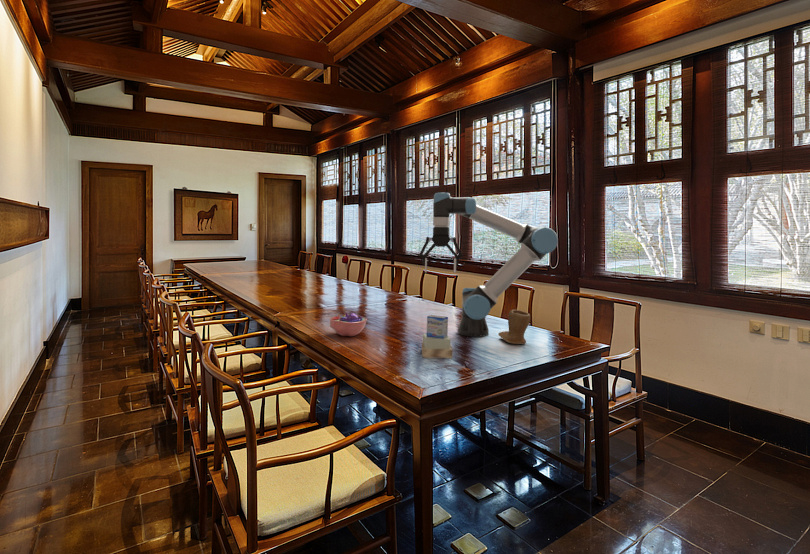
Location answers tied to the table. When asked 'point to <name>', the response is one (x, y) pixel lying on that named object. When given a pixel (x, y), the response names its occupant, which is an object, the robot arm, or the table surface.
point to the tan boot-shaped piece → (516, 327)
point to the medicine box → (437, 326)
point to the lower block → (437, 352)
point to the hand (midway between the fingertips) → (440, 272)
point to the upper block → (436, 342)
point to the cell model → (348, 324)
